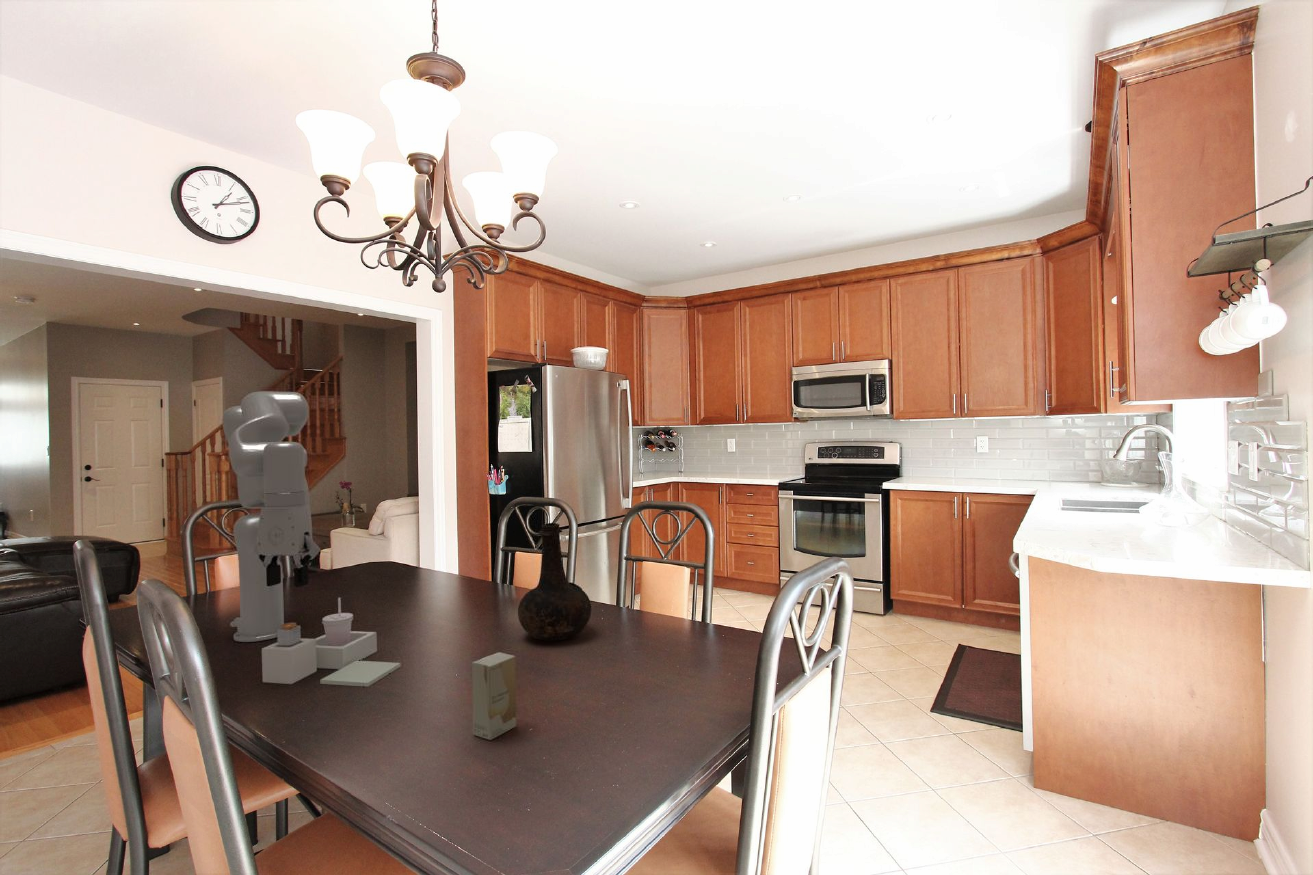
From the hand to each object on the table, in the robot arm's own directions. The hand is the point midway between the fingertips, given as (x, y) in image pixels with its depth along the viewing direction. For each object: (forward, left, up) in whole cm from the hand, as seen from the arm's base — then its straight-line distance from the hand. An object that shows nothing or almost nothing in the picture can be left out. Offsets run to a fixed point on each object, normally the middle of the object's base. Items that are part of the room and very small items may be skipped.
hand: (287, 584), depth 132 cm
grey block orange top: (0, 0, -15) cm, 15 cm away
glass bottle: (+47, +33, -20) cm, 61 cm away
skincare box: (+55, -16, -20) cm, 61 cm away
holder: (+3, +11, -20) cm, 23 cm away
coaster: (+15, +3, -20) cm, 25 cm away
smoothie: (+3, +11, -20) cm, 23 cm away
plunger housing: (0, 0, -20) cm, 20 cm away
